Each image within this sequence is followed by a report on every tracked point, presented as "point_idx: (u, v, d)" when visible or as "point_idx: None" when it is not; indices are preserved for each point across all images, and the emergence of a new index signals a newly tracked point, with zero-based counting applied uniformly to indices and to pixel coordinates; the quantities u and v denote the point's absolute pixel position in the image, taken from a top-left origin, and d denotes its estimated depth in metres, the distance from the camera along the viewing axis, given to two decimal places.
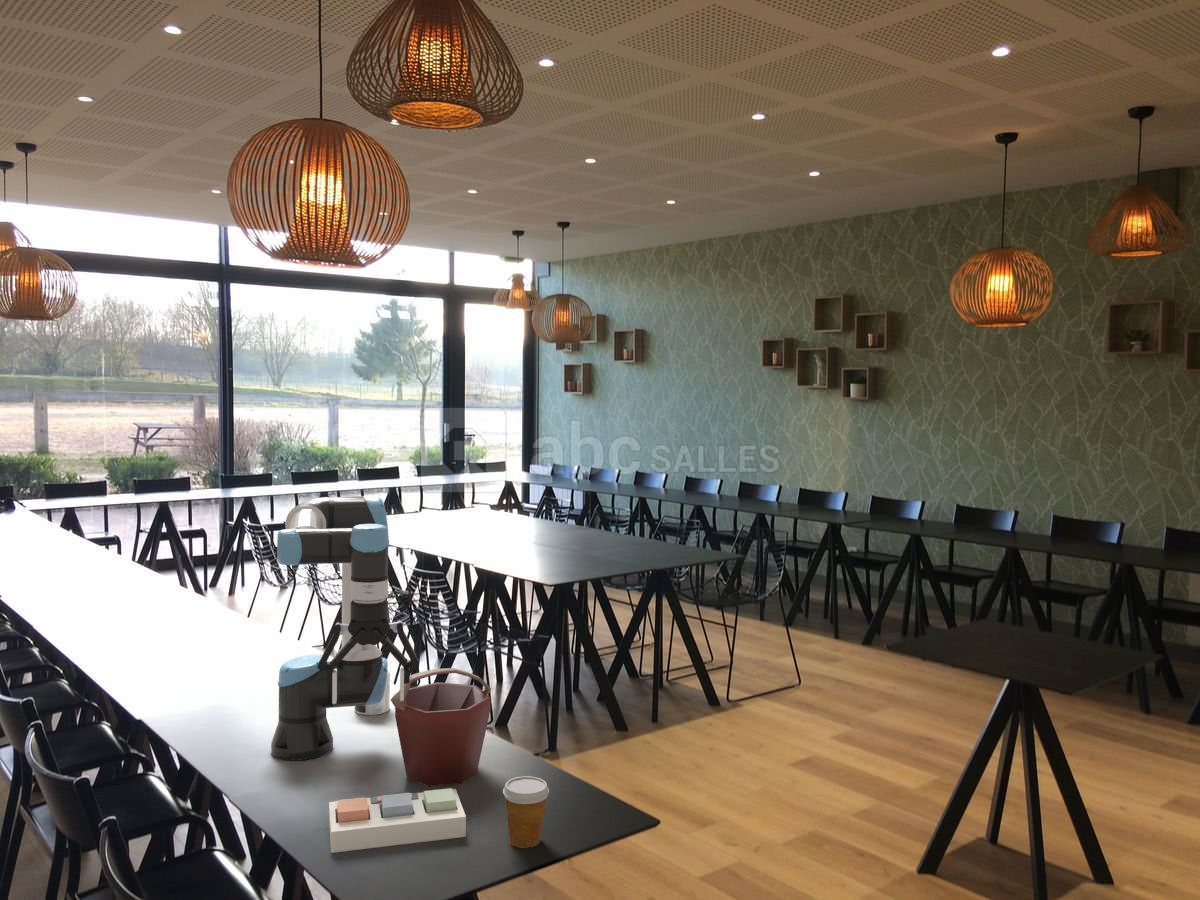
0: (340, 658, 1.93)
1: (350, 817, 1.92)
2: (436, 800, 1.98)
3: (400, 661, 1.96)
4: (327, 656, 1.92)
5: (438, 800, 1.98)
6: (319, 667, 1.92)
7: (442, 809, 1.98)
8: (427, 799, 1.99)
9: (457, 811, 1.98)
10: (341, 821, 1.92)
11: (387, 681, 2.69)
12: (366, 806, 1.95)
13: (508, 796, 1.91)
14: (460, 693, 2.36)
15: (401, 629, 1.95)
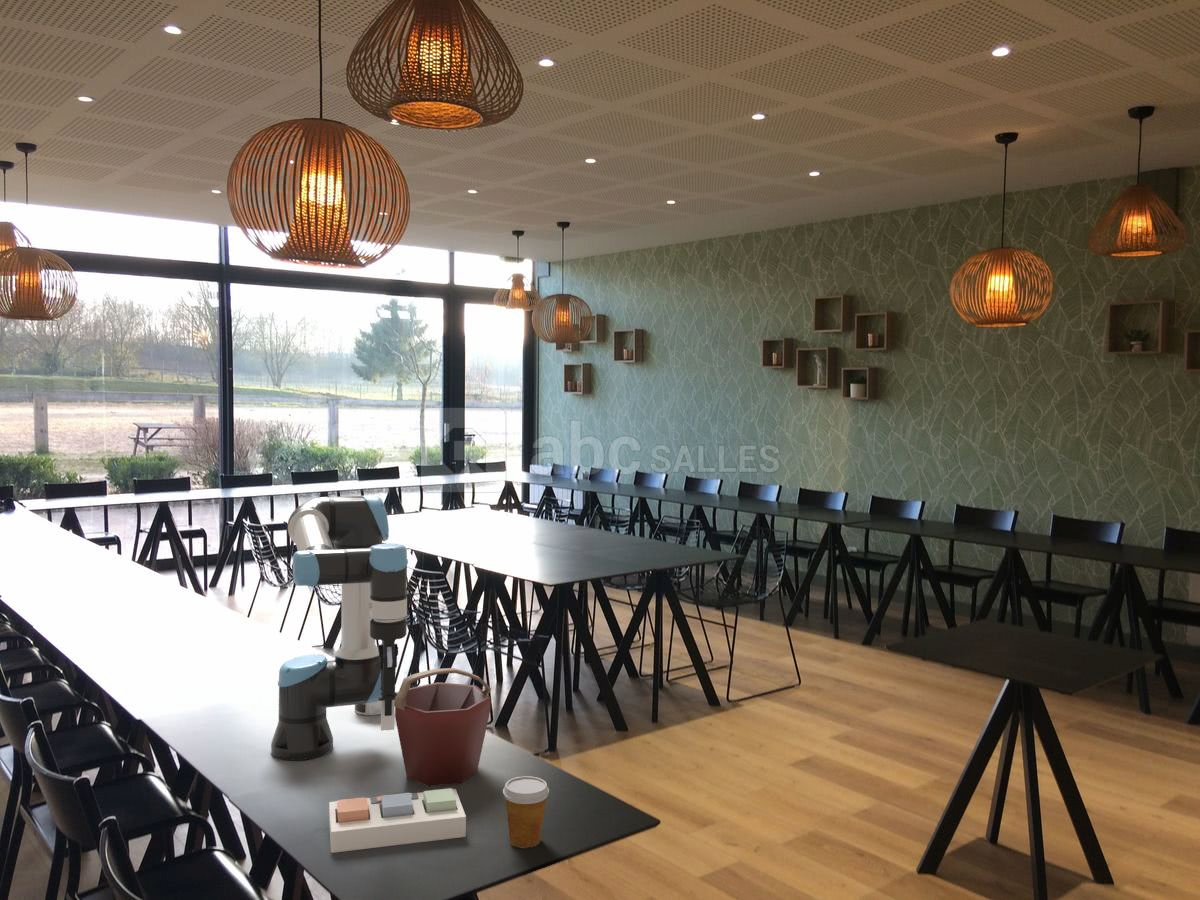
0: None
1: (350, 817, 1.92)
2: (436, 800, 1.98)
3: (382, 689, 1.97)
4: (381, 676, 2.01)
5: (438, 800, 1.98)
6: (380, 689, 2.01)
7: (442, 809, 1.98)
8: (427, 799, 1.99)
9: (457, 811, 1.98)
10: (341, 821, 1.92)
11: None
12: (366, 806, 1.95)
13: (508, 796, 1.91)
14: (460, 693, 2.36)
15: (383, 664, 1.92)
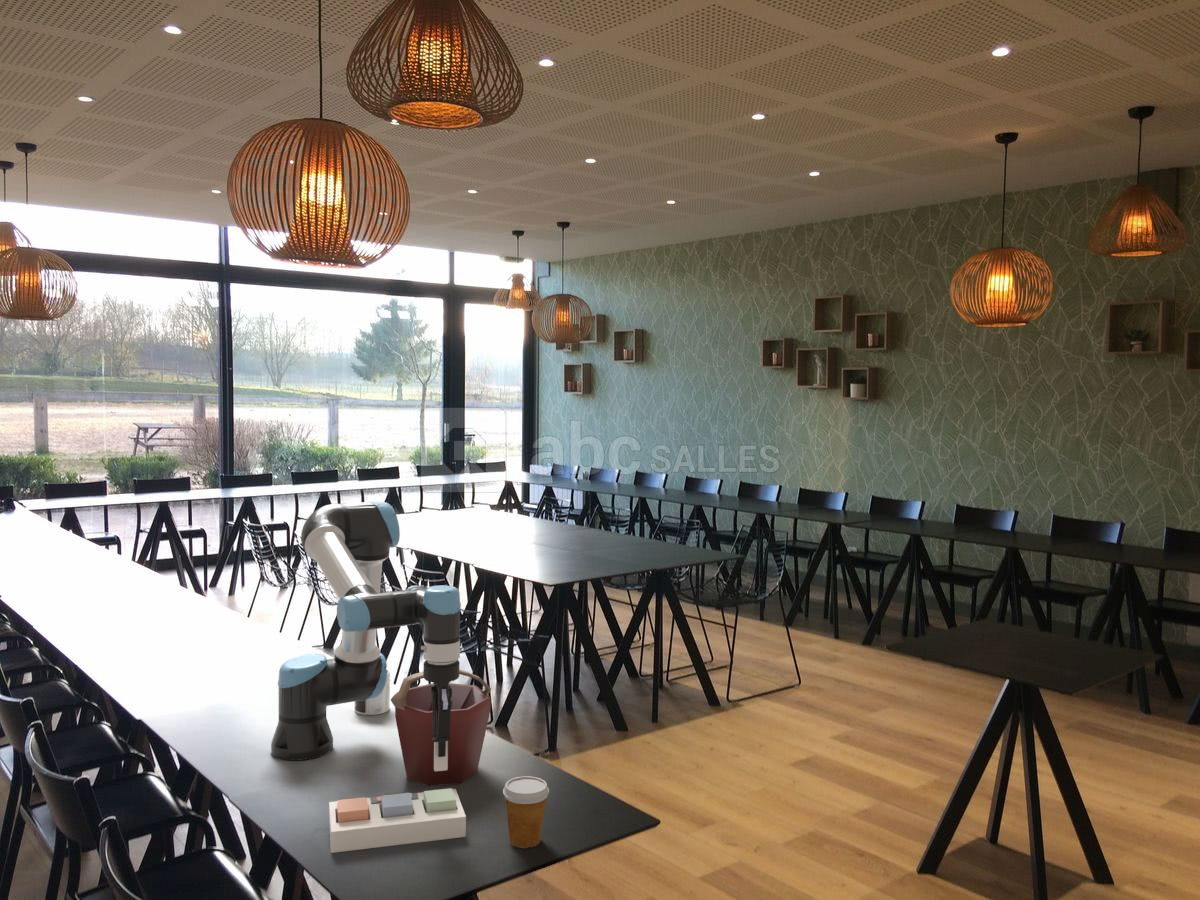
0: (434, 720, 2.00)
1: (350, 817, 1.92)
2: (436, 800, 1.98)
3: (436, 730, 1.98)
4: (433, 717, 2.02)
5: (438, 800, 1.98)
6: None
7: (442, 809, 1.98)
8: (427, 799, 1.99)
9: (457, 811, 1.98)
10: (341, 821, 1.92)
11: (387, 681, 2.69)
12: (366, 806, 1.95)
13: (508, 796, 1.91)
14: (460, 693, 2.36)
15: (439, 707, 1.94)
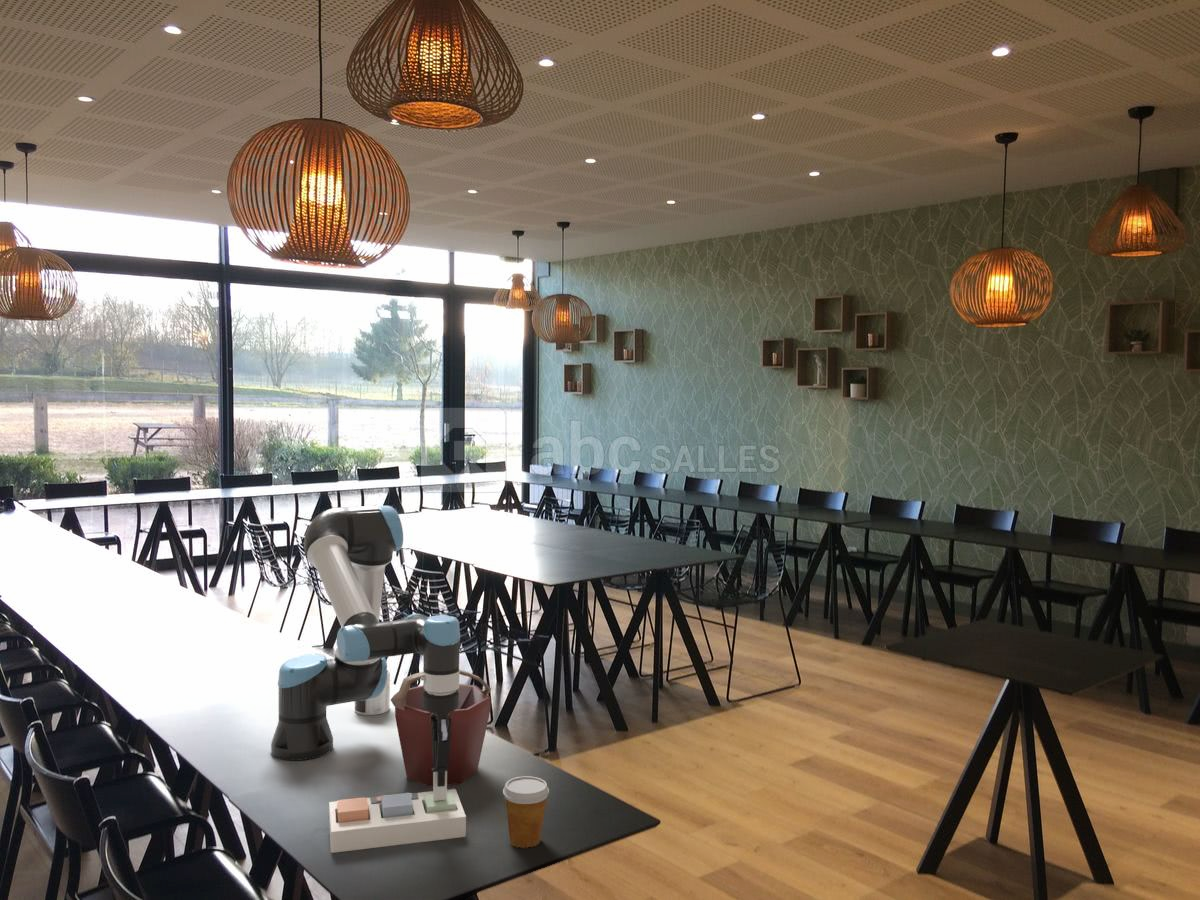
0: (434, 750, 2.01)
1: (350, 817, 1.92)
2: (436, 805, 1.98)
3: (435, 760, 1.99)
4: (432, 746, 2.03)
5: (438, 804, 1.98)
6: (432, 758, 2.03)
7: None
8: (427, 803, 1.99)
9: (457, 811, 1.98)
10: (341, 821, 1.92)
11: (387, 681, 2.69)
12: (366, 806, 1.95)
13: (508, 796, 1.91)
14: (460, 693, 2.36)
15: (438, 738, 1.94)
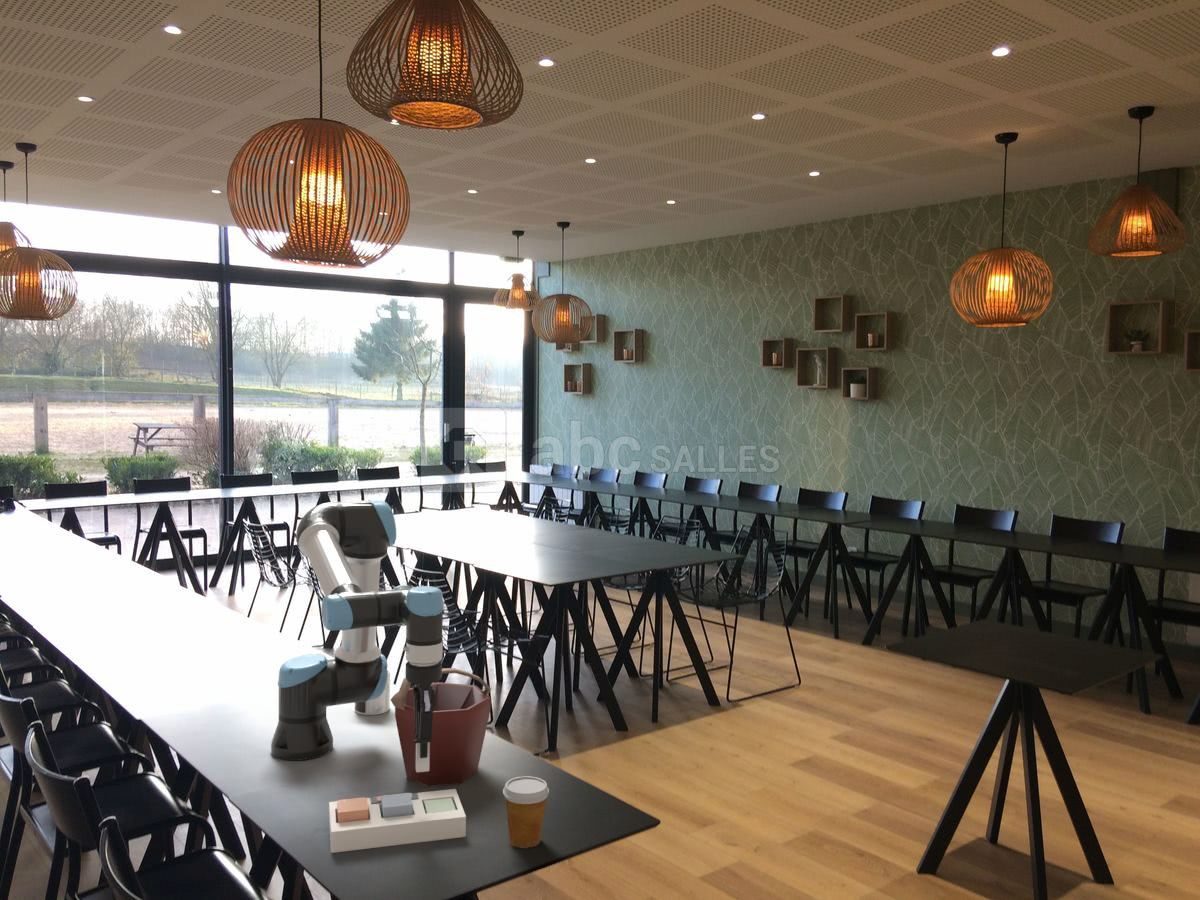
0: (416, 721, 2.00)
1: (350, 817, 1.92)
2: (436, 810, 1.98)
3: (417, 731, 1.98)
4: (415, 718, 2.02)
5: (438, 810, 1.99)
6: (414, 730, 2.02)
7: None
8: (427, 809, 1.99)
9: (457, 811, 1.98)
10: (341, 821, 1.92)
11: (387, 681, 2.69)
12: (366, 806, 1.95)
13: (508, 796, 1.91)
14: (460, 693, 2.36)
15: (421, 708, 1.93)
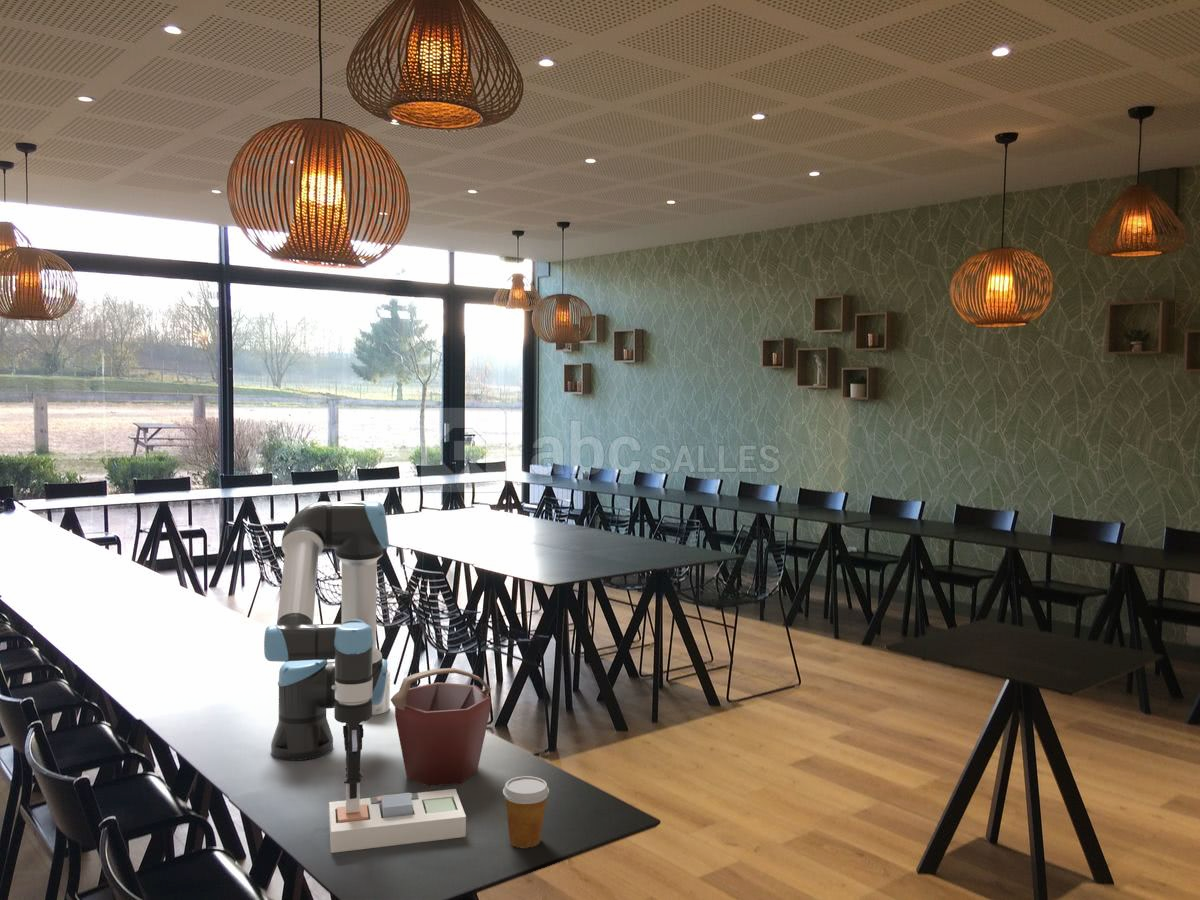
0: None
1: None
2: (436, 810, 1.98)
3: (347, 771, 1.93)
4: (346, 757, 1.98)
5: (438, 810, 1.99)
6: None
7: None
8: (427, 809, 1.99)
9: (457, 811, 1.98)
10: None
11: (387, 681, 2.69)
12: (366, 813, 1.95)
13: (508, 796, 1.91)
14: (460, 693, 2.36)
15: (348, 749, 1.89)
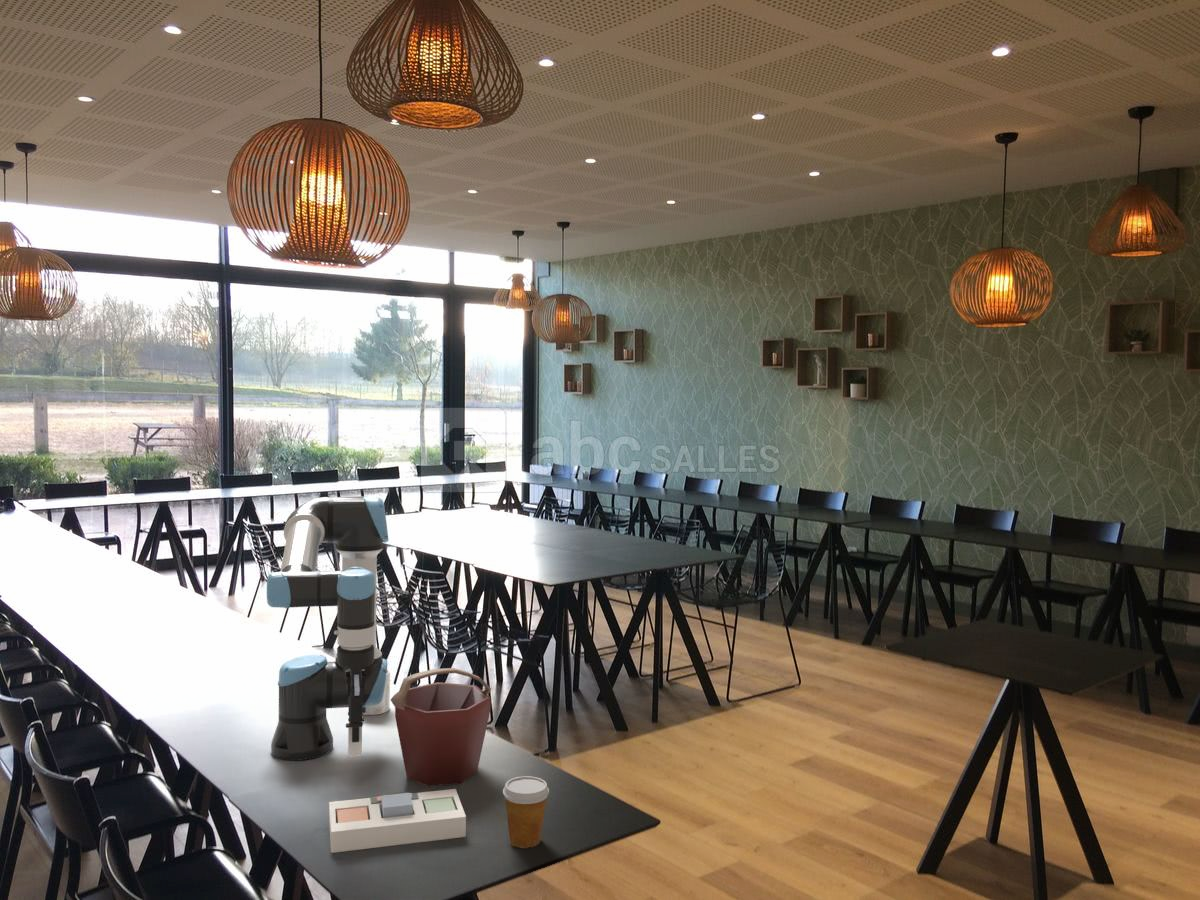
0: (349, 705, 1.97)
1: None
2: (436, 810, 1.98)
3: None
4: (348, 701, 2.00)
5: (438, 810, 1.99)
6: (348, 714, 2.00)
7: None
8: (427, 809, 1.99)
9: (457, 811, 1.98)
10: None
11: (387, 681, 2.69)
12: (366, 816, 1.95)
13: (508, 796, 1.91)
14: (460, 693, 2.36)
15: (350, 693, 1.91)
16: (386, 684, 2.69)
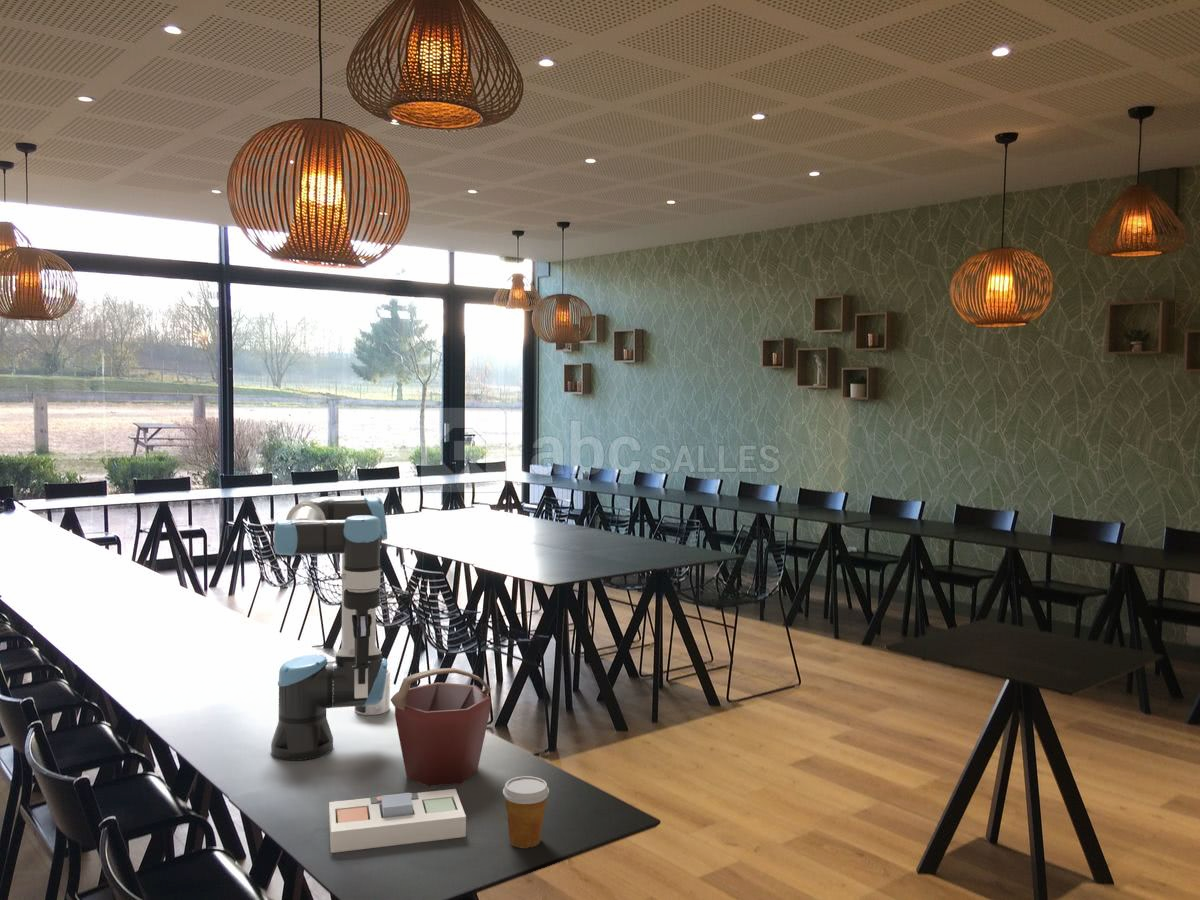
0: (355, 649, 2.02)
1: None
2: (436, 810, 1.98)
3: None
4: None
5: (438, 810, 1.99)
6: (354, 658, 2.04)
7: None
8: (427, 809, 1.99)
9: (457, 811, 1.98)
10: None
11: (387, 681, 2.69)
12: (366, 816, 1.95)
13: (508, 796, 1.91)
14: (460, 693, 2.36)
15: (357, 633, 1.96)
16: (386, 684, 2.69)
